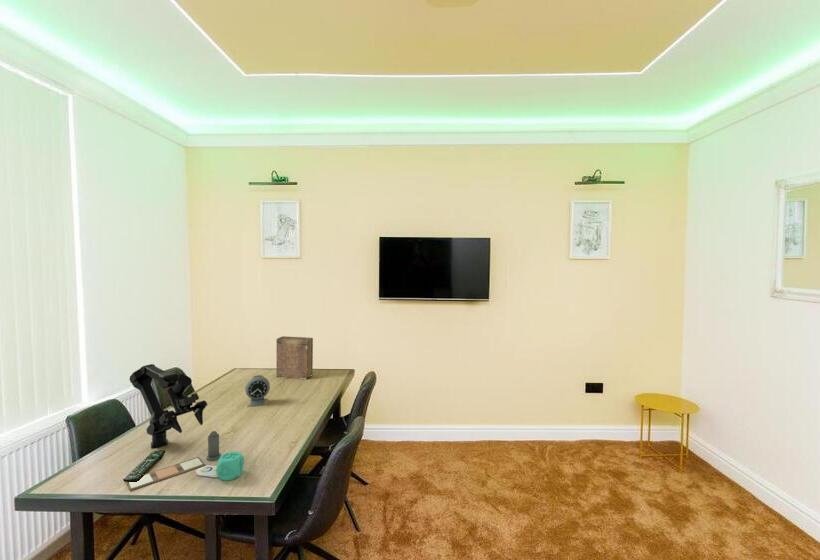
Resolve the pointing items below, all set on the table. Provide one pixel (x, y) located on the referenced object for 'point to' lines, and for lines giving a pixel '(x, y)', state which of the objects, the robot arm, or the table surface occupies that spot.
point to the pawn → (213, 446)
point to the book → (294, 357)
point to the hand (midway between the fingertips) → (191, 428)
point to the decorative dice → (230, 466)
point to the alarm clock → (257, 390)
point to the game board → (166, 473)
